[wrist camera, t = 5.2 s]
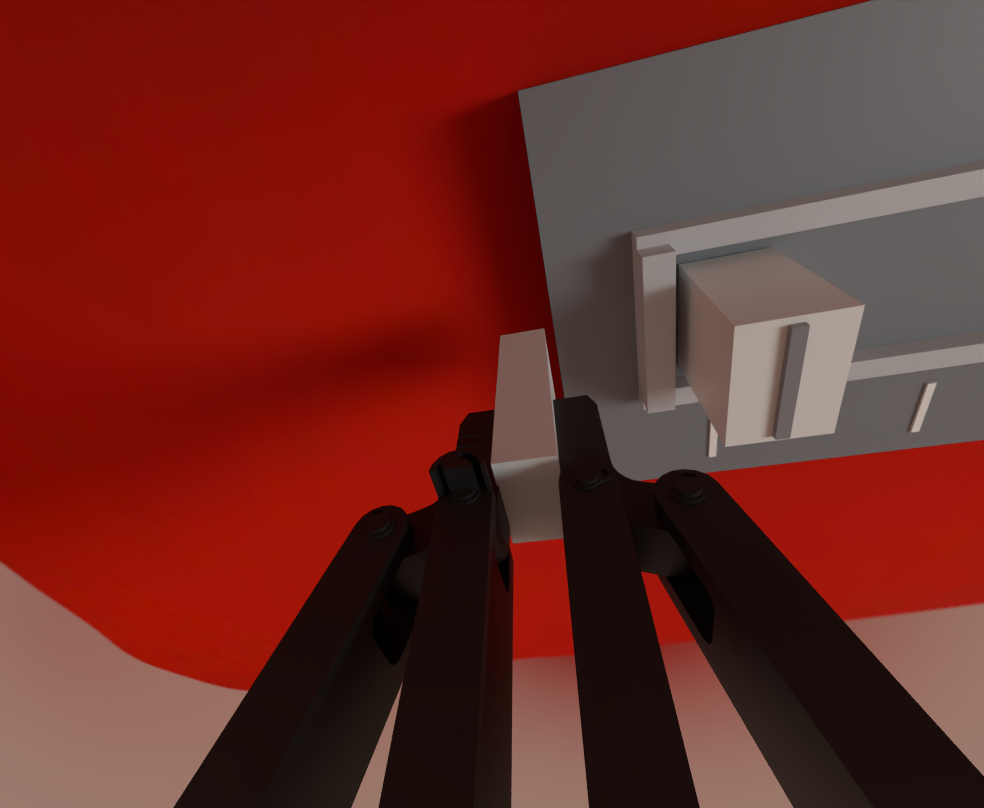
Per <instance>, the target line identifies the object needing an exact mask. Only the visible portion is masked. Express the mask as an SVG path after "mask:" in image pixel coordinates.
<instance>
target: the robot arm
mask: <svg viewBox="0 0 984 808" xmlns="http://www.w3.org/2000/svg"><path fill="white" fill-rule="evenodd" d="M429 474H430V476H431V479H432V481H433V484H434V487H435V489H436V492H437V495H438V501H436V502H435V503H433V504H432V505H430V506H428V507H426V508H424V509H421V510H418V511H416V512H413V513H410V514H408V515H407V514H406V512H405V511H404V510H402V509H401V508H400V507H397V506H393V505H390V506H382V507H379V508H376V509H374V510H371V511H370V512H368V513H367V514H365V515H364V516H363V517H362V518H361V519H360V520H359V521H358V522H357V523H356V525H355V526H354V528H353V529H352V531H351V532H350V534H349V536H348V537H347V539H346V540H345V542H344V543H343V545H342V546H341V548H340V550H339V551H338V553H337V554H336V556H335V557H334V559H333V560H332V562H331V564H330V565H329V567H328V568H327V570H326V571H325V573H324V574H323V576H322V578H321V579H320V581H319V582H318V584H317V585H316V587H315V588H314V590H313V592H312V593H311V595H310V596H309V598H308V599H307V601H306V602H305V604H304V606H303V607H302V609H301V610H300V612H299V613H298V615H297V616H296V618H295V620H294V621H293V623H292V624H291V626H290V627H289V629H288V630H287V632H286V634H285V635H284V637H283V638H282V640H281V641H280V643H279V644H278V646H277V647H276V649H275V651H274V652H273V654H272V655H271V657H270V658H269V660H268V661H267V663H266V665H265V666H264V668H263V669H262V671H261V672H260V674H259V675H258V677H257V679H256V680H255V682H254V683H253V685H252V686H251V688H250V689H249V691H248V693H247V694H246V696H245V697H244V699H243V700H242V702H241V703H240V705H239V707H238V708H237V710H236V711H235V713H234V714H233V716H232V717H231V719H230V721H229V722H228V724H227V725H226V727H225V729H224V730H223V731H222V733H221V735H220V736H219V738H218V739H217V741H216V742H215V744H214V745H213V747H212V749H211V750H210V752H209V753H208V755H207V756H206V758H205V760H204V761H203V763H202V764H201V766H200V767H199V769H198V770H197V772H196V773H195V775H194V777H193V778H192V780H191V781H190V783H189V784H188V786H187V787H186V789H185V791H184V792H183V794H182V795H181V797H180V798H179V800H178V801H177V803H176V805H175V806H174V808H351V807H352V804H353V802H354V799H355V797H356V794H357V792H358V790H359V787H360V784H361V782H362V780H363V777H364V775H365V772H366V770H367V768H368V765H369V763H370V760H371V758H372V755H373V753H374V750H375V748H376V745H377V743H378V741H379V738H380V736H381V733H382V731H383V728H384V726H385V723H386V721H387V718H388V716H389V714H390V711H391V709H392V706H393V704H394V701H395V699H396V696H397V694H398V691H399V689H400V687H401V684H402V682H403V684H402V689H401V695H400V699H399V705H398V710H397V715H396V720H395V725H394V730H393V735H392V741H391V746H390V751H389V756H388V761H387V767H386V772H385V777H384V782H383V787H382V792H381V798H380V803H379V808H511V772H512V769H511V768H512V660H513V558H512V554H511V550H510V534H511V538H512V542H513V543H522V542H532V541H541V540H551V539H561V538H564V548H565V558H566V569H567V580H568V590H569V601H570V611H571V622H572V632H573V643H574V653H575V664H576V674H577V685H578V695H579V704H580V716H581V727H582V737H583V747H584V758H585V768H586V779H587V790H588V800H589V808H700V807H699V803H698V799H697V795H696V791H695V787H694V783H693V779H692V775H691V771H690V767H689V763H688V759H687V755H686V751H685V747H684V743H683V739H682V735H681V731H680V727H679V723H678V719H677V714H676V710H675V706H674V702H673V699H672V695H671V690H670V686H669V682H668V678H667V674H666V670H665V666H664V662H663V658H662V654H661V650H660V646H659V642H658V638H657V634H656V630H655V626H654V622H653V618H652V614H651V610H650V606H649V602H648V598H647V594H646V590H645V586H644V582H643V578H642V573H641V571H643V572H648V573H652V574H657V575H658V576H659V579H660V581H661V582H662V584H663V586H664V587H665V589H666V591H667V592H668V594H669V596H670V598H671V599H672V601H673V603H674V604H675V606H676V608H677V610H678V611H679V613H680V615H681V616H682V618H683V620H684V621H685V623H686V625H687V627H688V628H689V630H690V632H691V633H692V635H693V637H694V639H695V640H696V642H697V644H698V645H699V647H700V648H701V650H702V652H703V654H704V655H705V657H706V659H707V661H708V662H709V664H710V666H711V668H712V669H713V671H714V673H715V674H716V676H717V678H718V679H719V681H720V683H721V685H722V686H723V688H724V690H725V691H726V693H727V695H728V697H729V698H730V699H731V701H732V703H733V705H734V707H735V708H736V710H737V712H738V713H739V715H740V716H741V718H742V720H743V722H744V724H745V725H746V727H747V729H748V731H749V732H750V734H751V736H752V737H753V739H754V741H755V742H756V744H757V746H758V748H759V749H760V751H761V753H762V754H763V756H764V758H765V760H766V761H767V763H768V765H769V766H770V768H771V770H772V772H773V773H774V775H775V777H776V778H777V780H778V782H779V783H780V785H781V787H782V788H783V790H784V792H785V794H786V795H787V797H788V799H789V801H790V802H791V804H792V805H793V807H794V808H984V776H983V775H982V774H981V773H980V772H979V770H978V769H977V768H976V767H975V766H974V765H973V764H972V763H971V762H970V761H969V759H968V758H967V757H966V756H965V755H964V754H963V753H962V752H961V751H960V749H959V748H958V747H957V746H956V745H955V744H954V743H953V742H952V741H951V740H950V738H949V737H948V736H947V735H946V734H945V733H944V732H943V731H942V730H941V729H940V727H939V726H938V725H937V724H936V723H935V722H934V721H933V720H932V719H931V717H930V716H929V715H928V714H927V713H926V712H925V711H924V710H923V709H922V707H921V706H920V705H919V704H918V703H917V702H916V701H915V700H914V699H913V698H912V697H911V695H910V694H909V693H908V692H907V691H906V690H905V689H904V688H903V686H902V685H901V684H900V683H899V682H898V681H897V680H896V679H895V678H894V677H893V675H892V674H891V673H890V672H889V671H888V670H887V669H886V668H885V667H884V665H882V663H881V662H880V661H879V660H878V659H877V658H876V657H875V656H874V654H873V653H872V652H871V651H870V650H869V649H868V648H867V647H866V646H865V644H864V643H863V642H862V641H861V640H860V639H859V638H858V637H857V636H856V634H855V633H854V632H853V631H852V630H851V629H850V628H849V627H848V626H847V625H846V623H845V622H844V621H843V620H842V619H841V618H840V617H839V616H838V615H837V613H836V612H835V611H834V610H833V609H832V608H831V607H830V606H829V605H828V603H827V602H826V601H825V600H824V599H823V598H822V597H821V596H820V595H819V594H818V592H817V591H816V590H815V589H814V588H813V587H812V586H811V585H810V584H809V582H808V581H807V580H806V579H805V578H804V577H803V576H802V575H801V574H800V573H799V571H798V570H797V569H796V568H795V567H794V566H793V565H792V564H791V563H790V561H789V560H788V559H787V558H786V557H785V556H784V555H783V554H782V553H781V551H780V550H779V549H778V548H777V547H776V546H775V545H774V544H773V543H772V542H771V540H770V539H769V538H768V537H767V536H766V535H765V534H764V533H763V532H762V530H761V529H760V528H759V527H758V526H757V525H756V524H755V523H754V522H753V521H752V519H751V518H750V517H749V516H748V515H747V514H746V513H745V512H744V511H743V509H742V508H741V507H740V506H739V505H738V504H737V503H736V502H735V501H734V499H733V498H732V497H731V496H730V495H729V494H728V493H727V492H726V491H725V490H724V488H723V487H722V486H721V485H720V484H719V483H718V482H717V481H716V480H714V479H713V478H712V477H711V476H709V475H707V474H705V473H702V472H700V471H697V470H689V469H680V470H673V471H670V472H668V473H666V474H664V475H662V476H661V477H660V478H659V479H658V480H657V481H656V482H655V483H649V482H641V481H636V480H632V479H630V478H627V477H625V476H623V475H622V474H620V473H619V472H618V471H617V470H616V469H615V468H614V467H613V465H612V462H611V459H610V455H609V451H608V447H607V443H606V439H605V435H604V431H603V427H602V423H601V419H600V415H599V411H598V406H597V404H596V403H595V402H594V401H593V400H592V399H591V398H590V397H589V396H588V395H582V396H575V397H569V398H562V399H555V392H554V386H553V380H552V374H551V368H550V362H549V356H548V349H547V343H546V337H545V331H544V328H542V329H537V330H531V331H525V332H519V333H513V334H508V335H502V336H500V348H499V361H498V374H497V388H496V401H495V410H489V411H482V412H475V413H469V414H468V415H467V416H466V418H465V419H464V420H463V422H462V423H461V424H460V429H459V435H458V440H457V448H456V450H455V451H451V452H448V453H446V454H445V455H443V456H441V457H439V458H438V459H437V460H436V461H435V462H434V463H433V464H432V466H431V468H430V470H429Z"/></svg>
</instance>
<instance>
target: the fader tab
mask: <svg viewBox="0 0 984 808" xmlns="http://www.w3.org/2000/svg"><path fill="white" fill-rule="evenodd" d="M864 307H865V305H864V304H863V303H861V302H859V301H858V300H856V299H855V298H853V297H851V296H850V295H848V294H847V293H845V292H844V291H842V290H840V289H839V288H837V287H836V286H834V285H832V284H831V283H829V282H828V281H826V280H824V279H823V278H821V277H820V276H818V275H816V274H815V273H813V272H812V271H810V270H808V269H807V268H805V267H804V266H802V265H800V264H799V263H797V262H796V261H794V260H793V259H791V258H789V257H788V256H786V255H785V254H783V253H781V252H780V251H778V250H777V249H775V248H773V247H770V248H765V249H759V250H754V251H749V252H743V253H738V254H732V255H727V256H722V257H716V258H711V259H706V260H700V261H695V262H690V263H684V264H679V303H678V366H679V368H680V369H681V371H682V373H683V375H684V376H685V378H686V380H687V382H688V383H689V385H690V387H691V388H692V390H693V392H694V394H695V395H696V397H697V399H698V401H699V402H700V404H701V406H702V408H703V409H704V411H705V413H706V415H707V416H708V418H709V420H710V422H711V423H712V425H713V427H714V429H715V430H716V432H717V434H718V436H719V437H720V439H721V441H722V442H723V444H724V446H725V447H729V446H737V445H745V444H752V443H760V442H768V441H776V440H784V439H792V438H800V437H808V436H816V435H824V434H832V433H834V432H835V428H836V424H837V419H838V415H839V411H840V407H841V403H842V399H843V394H844V390H845V386H846V382H847V378H848V374H849V370H850V365H851V361H852V357H853V353H854V349H855V345H856V340H857V336H858V332H859V328H860V324H861V320H862V315H863V311H864Z"/></svg>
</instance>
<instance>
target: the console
mask: <svg viewBox="0 0 984 808" xmlns="http://www.w3.org/2000/svg"><path fill="white" fill-rule="evenodd" d="M518 95H519V102H520V108H521V115H522V122H523V128H524V135H525V141H526V148H527V155H528V161H529V168H530V174H531V181H532V187H533V194H534V201H535V207H536V214H537V220H538V227H539V233H540V240H541V247H542V253H543V260H544V266H545V273H546V279H547V286H548V293H549V299H550V306H551V312H552V319H553V326H554V332H555V339H556V345H557V352H558V358H559V365H560V372H561V378H562V385H563V391H564V398H569V397H575V396H582V395H588V396H589V397H590V398H591V399H592V400H593V401H594V402H595V403H596V404H597V406H598V411H599V415H600V419H601V423H602V427H603V431H604V435H605V439H606V443H607V447H608V451H609V455H610V459H611V462H612V465H613V467H614V468H615V469H616V470H617V471H618V472H619V473H620V474H622V475H623V476H625V477H627V478H630V479H632V480H636V481H639V480H648V479H656V478H660V477H661V476H662V475H664V474H666V473H668V472H670V471H673V470H680V469H689V470H697V471H700V472H702V473H707V472H715V471H724V470H732V469H741V468H749V467H757V466H766V465H774V464H783V463H791V462H800V461H808V460H816V459H825V458H833V457H842V456H850V455H859V454H867V453H876V452H884V451H892V450H901V449H909V448H918V447H926V446H935V445H943V444H951V443H960V442H968V441H977V440H984V0H871V1H867V2H863V3H859V4H855V5H851V6H847V7H843V8H840V9H836V10H832V11H828V12H824V13H820V14H816V15H812V16H808V17H804V18H800V19H797V20H793V21H789V22H785V23H781V24H777V25H773V26H769V27H765V28H761V29H757V30H753V31H750V32H746V33H742V34H738V35H734V36H730V37H726V38H722V39H718V40H714V41H710V42H707V43H703V44H699V45H695V46H691V47H687V48H683V49H679V50H675V51H671V52H667V53H663V54H660V55H656V56H652V57H648V58H644V59H640V60H636V61H632V62H628V63H624V64H620V65H617V66H613V67H609V68H605V69H601V70H597V71H593V72H589V73H585V74H581V75H577V76H573V77H570V78H566V79H562V80H558V81H554V82H550V83H546V84H542V85H538V86H534V87H530V88H527V89H523V90H519V91H518ZM770 247H773V248H775V249H777V250H778V251H780V252H781V253H783V254H785V255H786V256H788V257H789V258H791V259H793V260H794V261H796V262H797V263H799V264H800V265H802V266H804V267H805V268H807V269H808V270H810V271H812V272H813V273H815V274H816V275H818V276H820V277H821V278H823V279H824V280H826V281H828V282H829V283H831V284H832V285H834V286H836V287H837V288H839V289H840V290H842V291H844V292H845V293H847V294H848V295H850V296H851V297H853V298H855V299H856V300H858V301H859V302H861V303H863V304H864V305H865V307H864V311H863V315H862V320H861V324H860V328H859V332H858V336H857V340H856V345H855V349H854V353H853V357H852V361H851V365H850V370H849V374H848V378H847V382H846V386H845V390H844V394H843V399H842V403H841V407H840V411H839V415H838V419H837V424H836V428H835V432H834V433H832V434H824V435H816V436H808V437H800V438H792V439H784V440H776V441H768V442H760V443H752V444H745V445H737V446H729V447H725V446H724V444H723V442H722V441H721V439H720V437H719V436H718V434H717V432H716V430H715V429H714V427H713V425H712V423H711V422H710V420H709V418H708V416H707V415H706V413H705V411H704V409H703V408H702V406H701V404H700V402H699V401H698V399H697V397H696V395H695V394H694V392H693V390H692V388H691V387H690V385H689V383H688V382H687V380H686V378H685V376H684V375H683V373H682V371H681V369H680V368H679V366H678V303H679V264H684V263H690V262H695V261H700V260H706V259H711V258H716V257H722V256H727V255H732V254H738V253H743V252H749V251H754V250H759V249H765V248H770Z"/></svg>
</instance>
